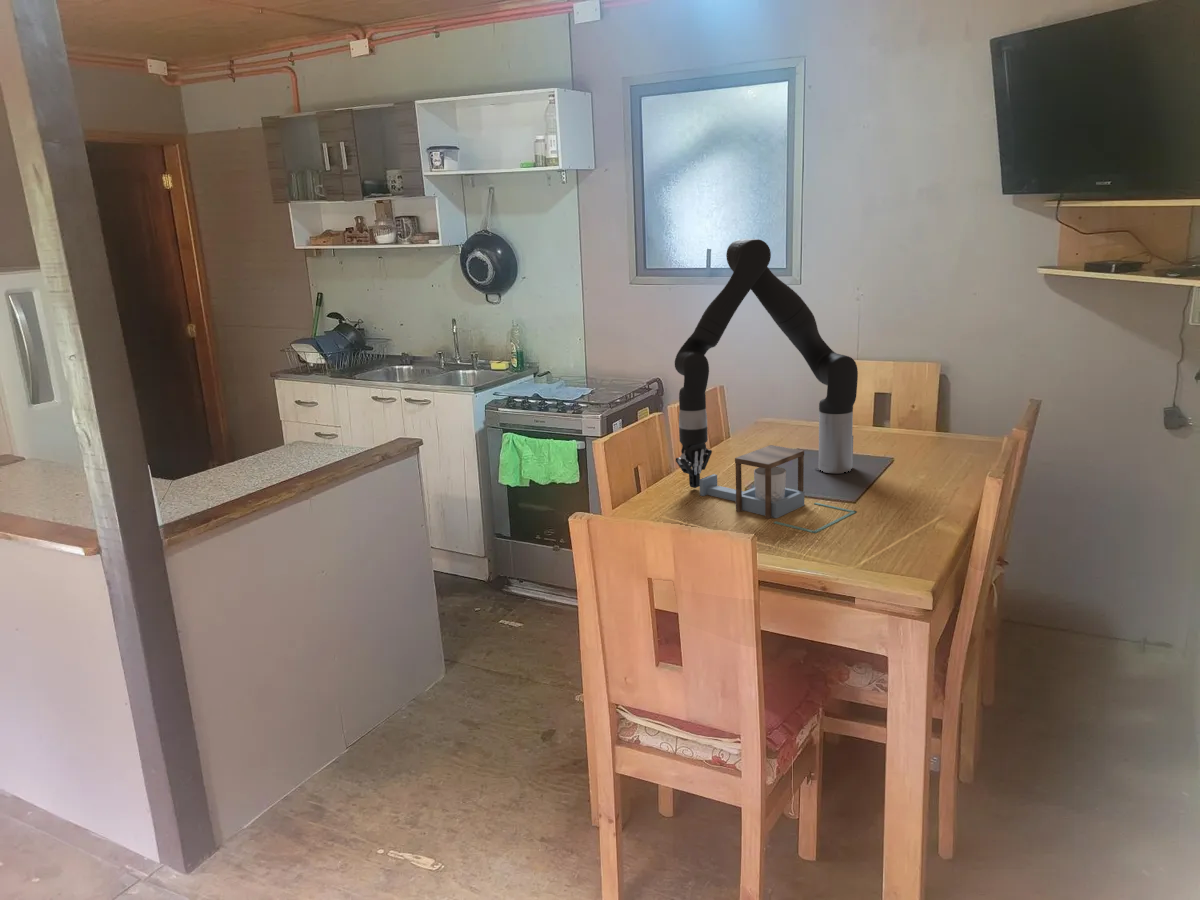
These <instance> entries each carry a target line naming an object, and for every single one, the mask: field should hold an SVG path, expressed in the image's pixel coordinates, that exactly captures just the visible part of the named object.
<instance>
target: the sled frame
mask: <svg viewBox="0 0 1200 900" xmlns="http://www.w3.org/2000/svg"><path fill="white" fill-rule="evenodd" d="M699 480H700V486H699V496H702V497H705V496H711V497H716V498H719V499H724V500H728V501H732V502H736V488H735V489H734V488H730V487H726V486H721V485H718V474H715V473H713V474H711V475H707V476H705V477H701V478H700V479H699ZM804 506H805V491H804V490H803V491H798V489H793V488H789V487H785V498H783V499H781V500H779V501H776V502H772V501H771V518H773V519H778V518H780V517H783V516H785V515H787V514H789V513H791V512H792V511H795V510H797V509H800V508H801V507H804ZM742 511H743V512H749V513H753V514H757V515H761V516H765V500H764V499H759V498H756V497H755V486H754V487H752V488H749V489H747V490H742Z"/></svg>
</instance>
